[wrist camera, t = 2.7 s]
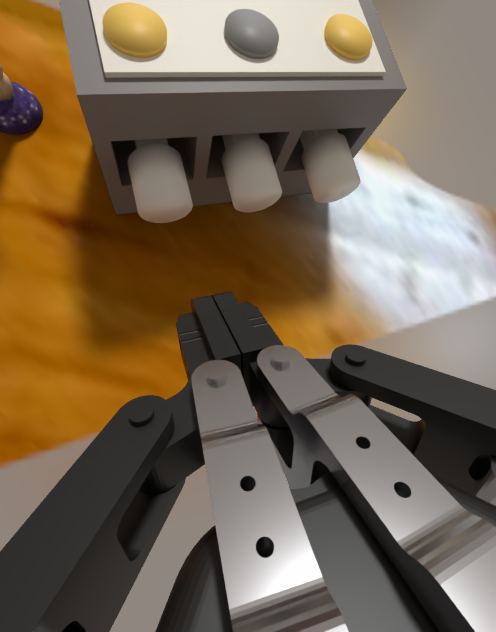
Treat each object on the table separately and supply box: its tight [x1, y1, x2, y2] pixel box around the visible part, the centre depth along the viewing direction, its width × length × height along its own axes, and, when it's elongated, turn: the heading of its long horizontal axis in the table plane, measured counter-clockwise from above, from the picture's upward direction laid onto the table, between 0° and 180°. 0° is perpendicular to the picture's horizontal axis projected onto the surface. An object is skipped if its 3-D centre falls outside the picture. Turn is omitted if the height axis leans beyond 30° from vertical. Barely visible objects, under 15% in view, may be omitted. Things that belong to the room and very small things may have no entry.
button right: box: [300, 129, 360, 203], centre depth 25 cm, size 4×6×4 cm, turn 15°
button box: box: [59, 0, 407, 215], centre depth 24 cm, size 20×9×12 cm, turn 105°
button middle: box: [222, 133, 282, 212], centre depth 24 cm, size 4×6×4 cm, turn 15°
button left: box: [128, 138, 193, 223], centre depth 22 cm, size 4×6×4 cm, turn 15°
